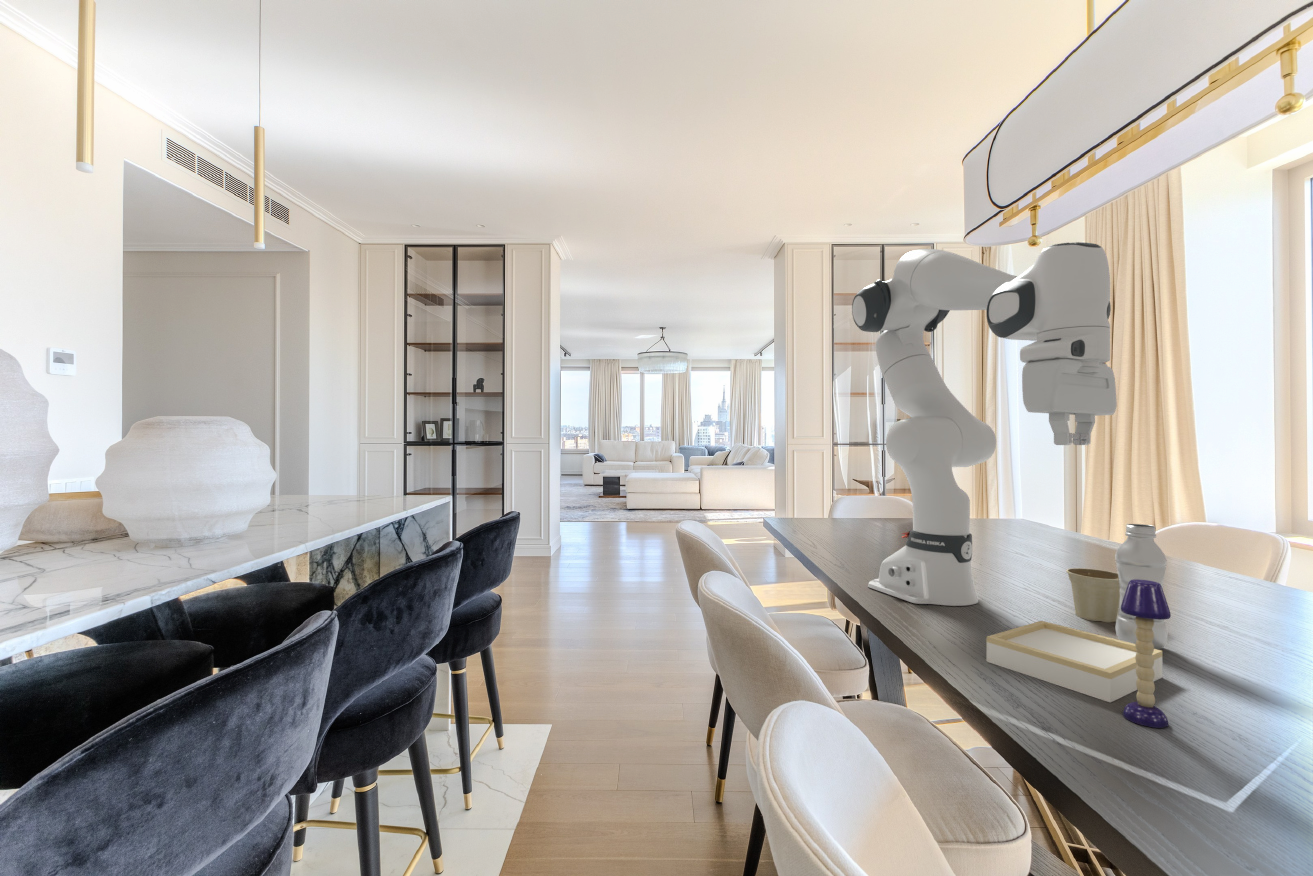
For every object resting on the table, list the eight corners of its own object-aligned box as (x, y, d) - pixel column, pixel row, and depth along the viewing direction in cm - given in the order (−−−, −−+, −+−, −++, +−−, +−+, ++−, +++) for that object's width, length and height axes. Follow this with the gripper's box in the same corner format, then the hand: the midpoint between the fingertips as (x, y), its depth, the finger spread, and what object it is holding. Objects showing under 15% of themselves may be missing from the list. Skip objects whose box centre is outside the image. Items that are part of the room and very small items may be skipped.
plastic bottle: (1178, 656, 91) (1178, 529, 91) (1128, 653, 92) (1129, 527, 93) (1152, 642, 97) (1152, 523, 98) (1106, 639, 99) (1106, 522, 99)
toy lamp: (1111, 709, 73) (1111, 576, 73) (1151, 711, 73) (1151, 577, 73) (1139, 727, 68) (1139, 585, 68) (1182, 730, 68) (1182, 587, 68)
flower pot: (1131, 619, 110) (1131, 573, 110) (1123, 630, 104) (1124, 581, 104) (1071, 608, 117) (1071, 565, 117) (1061, 618, 111) (1061, 573, 111)
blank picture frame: (986, 661, 89) (986, 636, 89) (1041, 643, 97) (1041, 620, 97) (1110, 702, 75) (1110, 673, 75) (1162, 677, 83) (1162, 650, 83)
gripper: (1082, 359, 94) (1082, 445, 94) (1013, 348, 83) (1012, 445, 83) (1129, 354, 88) (1129, 445, 88) (1061, 342, 78) (1061, 445, 78)
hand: (1072, 445), depth 86 cm, fingers open, 4 cm apart
